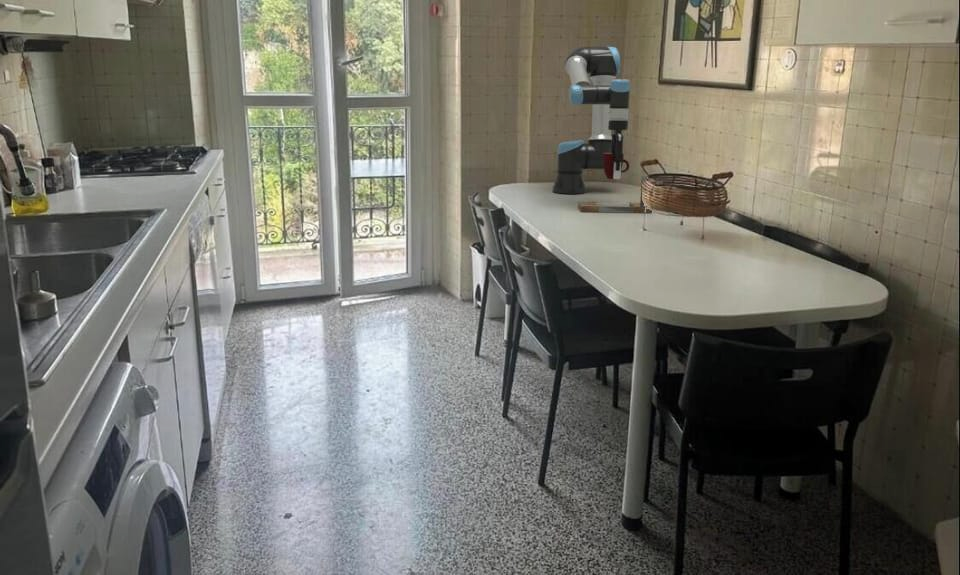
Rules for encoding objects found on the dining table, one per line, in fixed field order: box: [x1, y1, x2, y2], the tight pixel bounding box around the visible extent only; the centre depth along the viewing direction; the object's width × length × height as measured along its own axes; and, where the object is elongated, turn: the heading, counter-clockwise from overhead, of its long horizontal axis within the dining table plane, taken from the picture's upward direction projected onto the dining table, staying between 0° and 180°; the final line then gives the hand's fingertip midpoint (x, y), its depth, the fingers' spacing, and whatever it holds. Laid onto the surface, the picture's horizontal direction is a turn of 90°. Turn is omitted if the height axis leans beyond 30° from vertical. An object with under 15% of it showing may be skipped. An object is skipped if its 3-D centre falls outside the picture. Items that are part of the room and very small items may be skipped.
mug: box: [603, 152, 630, 180], centre depth 290 cm, size 10×8×10 cm
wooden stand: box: [577, 175, 653, 214], centre depth 290 cm, size 13×28×14 cm, turn 88°
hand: (615, 177), depth 291 cm, fingers closed on mug, 8 cm apart
